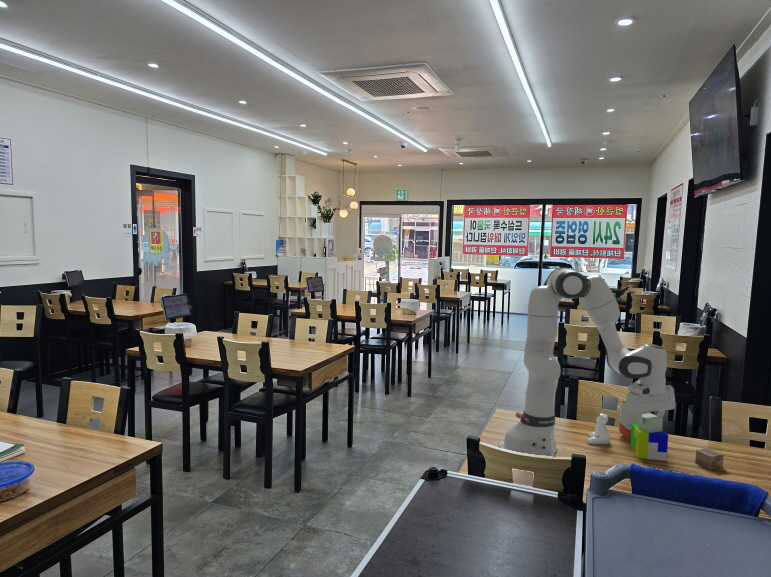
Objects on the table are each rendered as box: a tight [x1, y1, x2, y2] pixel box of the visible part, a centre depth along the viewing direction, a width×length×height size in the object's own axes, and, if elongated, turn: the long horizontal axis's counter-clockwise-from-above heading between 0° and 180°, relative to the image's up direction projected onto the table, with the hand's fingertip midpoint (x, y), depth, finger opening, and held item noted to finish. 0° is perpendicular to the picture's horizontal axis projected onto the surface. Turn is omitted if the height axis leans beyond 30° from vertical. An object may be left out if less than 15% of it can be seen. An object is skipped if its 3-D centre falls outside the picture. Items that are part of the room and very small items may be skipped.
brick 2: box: [694, 448, 725, 471], centre depth 184 cm, size 6×6×5 cm
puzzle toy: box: [630, 424, 669, 461], centre depth 193 cm, size 10×10×10 cm
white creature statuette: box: [586, 413, 612, 445], centre depth 204 cm, size 10×9×12 cm
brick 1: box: [637, 412, 664, 433], centre depth 192 cm, size 6×6×5 cm
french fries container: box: [618, 395, 651, 440], centre depth 209 cm, size 5×11×18 cm, turn 68°
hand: (649, 422), depth 192 cm, fingers open, 7 cm apart
